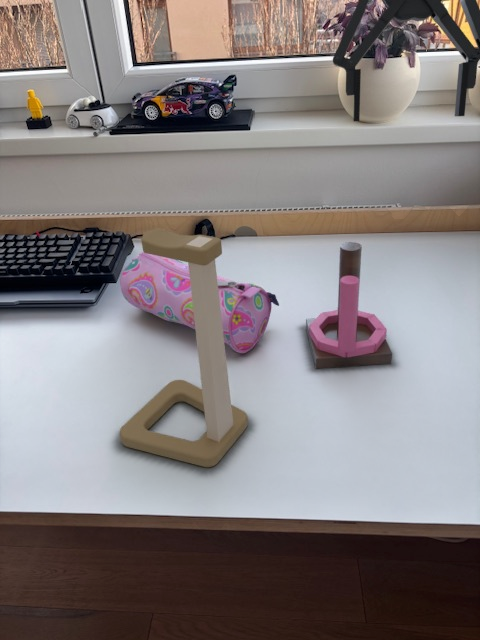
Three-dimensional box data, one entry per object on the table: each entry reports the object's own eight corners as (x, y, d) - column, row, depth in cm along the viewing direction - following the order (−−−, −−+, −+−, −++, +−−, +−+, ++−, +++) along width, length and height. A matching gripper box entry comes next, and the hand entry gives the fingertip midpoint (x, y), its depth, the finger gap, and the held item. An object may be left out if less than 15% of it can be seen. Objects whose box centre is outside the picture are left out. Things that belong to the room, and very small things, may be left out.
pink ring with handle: (305, 357, 64) (305, 282, 59) (311, 314, 72) (312, 245, 67) (387, 362, 62) (395, 285, 57) (384, 317, 70) (390, 246, 65)
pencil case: (281, 333, 71) (279, 272, 67) (236, 368, 66) (231, 303, 61) (168, 291, 84) (160, 236, 79) (122, 316, 78) (110, 259, 73)
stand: (373, 323, 72) (380, 228, 65) (391, 363, 64) (401, 260, 57) (305, 328, 72) (305, 233, 65) (315, 368, 65) (316, 266, 57)
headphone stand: (176, 385, 63) (147, 205, 52) (258, 414, 58) (247, 221, 47) (115, 443, 56) (66, 247, 44) (203, 481, 51) (174, 271, 39)
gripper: (313, -63, 66) (313, 123, 73) (536, -87, 61) (512, 113, 69) (316, -46, 73) (316, 122, 80) (516, -67, 68) (497, 114, 76)
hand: (407, 119), depth 74 cm, fingers open, 13 cm apart
